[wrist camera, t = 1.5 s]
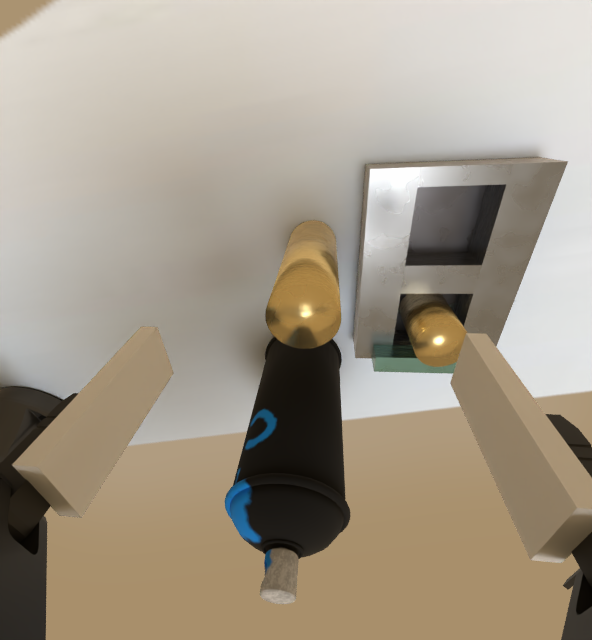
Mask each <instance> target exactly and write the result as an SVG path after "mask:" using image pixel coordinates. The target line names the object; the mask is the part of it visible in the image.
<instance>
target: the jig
mask: <svg viewBox="0 0 592 640" xmlns="http://www.w3.org/2000/svg"><path fill="white" fill-rule="evenodd" d="M566 165H567V161H561V160H554V159H548V158H541V157H533V158H508V159H483V160H458V161H432V162H407V163H382V164H365V178H364V192H363V207H362V221H361V235H360V250H359V264H358V278H357V293H356V307H355V321H354V336H353V341H354V350H355V358H372V362H373V368H374V371H379V372H417V373H454V370H455V367H456V364H457V361H458V357H459V354H460V351H461V348H462V345H463V341H464V338H465V335H466V333H481V334H487V335H488V337H489V338H490V339H491V341H492V342H493V343H494V345H495V346H497V343H498V340H499V338H500V335H501V333H502V330H503V328H504V325H505V322H506V320H507V317H508V315H509V312H510V310H511V307H512V304H513V302H514V299H515V297H516V294H517V291H518V289H519V286H520V284H521V281H522V279H523V276H524V273H525V271H526V268H527V266H528V263H529V260H530V258H531V255H532V253H533V250H534V248H535V245H536V242H537V240H538V237H539V235H540V232H541V230H542V227H543V224H544V222H545V219H546V217H547V214H548V211H549V209H550V206H551V204H552V201H553V199H554V196H555V193H556V191H557V188H558V186H559V183H560V180H561V178H562V175H563V173H564V170H565V168H566Z"/></svg>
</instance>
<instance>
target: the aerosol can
mask: <svg viewBox="0 0 592 640" xmlns="http://www.w3.org/2000/svg"><path fill="white" fill-rule="evenodd" d="M265 359H266V362H265V366H264V370H263V374H262V377H261V381H260V385H259V389H258V393H257V396H256V400H255V404H254V408H253V412H252V415H251V419H250V423H249V427H248V431H247V435H246V438H245V442H244V446H243V450H242V454H241V457H240V461H239V465H238V469H237V473H236V476H235V480H234V484H233V487H231V489H230V490H229V491H228V493H227V495H226V498H225V508H226V511H227V513H228V515H229V516H230V518H231V519H232V521H233V523H234V525H235V527H236V528H237V530H238V532H239V534H240V535H241V536H242V538H243V539H244V540H245V541H247V542H248V543H249V544H251V545H252V546H253V547H255V548H256V549H258V550H260V551H262V552H263V553H264V554H266V555H265V578H264V580H263V582H262V584H261V589H260V595H261V597H262V598H263V599H264V600H266V601H268V602H272V603H276V604H289V603H292V602H294V601H295V599H296V587H297V573H298V559H300V558H301V557H306V556H310V555H312V554H315V553H317V552H319V551H322V550H324V549H325V548H326V547H328V546H329V544H331V542H332V541H333V540H334V539H335V538H336V537H337V536H338V534H339V533H340V532H342V531H343V530H344V529H345V528H346V526H347V525H348V523H349V520H350V509H349V507H348V504H347V502H346V501H345V483H344V462H343V440H342V417H341V396H340V374H339V369H340V366H341V353H340V350H339V348H338V346H337V345H336V343H335V342H334V341H333V340H332V339H331V340H330V341H328V342H327V343H325V344H323V345H321V346H319V347H315V348H309V349H301V348H295V347H291V346H288V345H286V344H284V343H282V342H281V341H279V340H278V339H277V338H276V337H274V338H273V339H272V340H271V341H270V343H269V344H268V346H267V349H266V353H265Z"/></svg>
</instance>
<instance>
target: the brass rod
mask: <svg viewBox="0 0 592 640" xmlns="http://www.w3.org/2000/svg"><path fill="white" fill-rule="evenodd" d="M266 323H267V325H268V328H269V330H270V331H271V333H272V334H273V335H274V336H275V337H276V338H277V339H278V340H279V341H281V342H282V343H284V344H286V345H288V346H291V347H295V348H301V349H309V348H315V347H319V346H321V345H323V344H325V343H327V342H328V341H330V340H331V339H332V338H333V337H334V336H335V335H336V333H337V332H338V330H339V327H340V324H341V308H340V293H339V278H338V263H337V249H336V238H335V235H334V233H333V231H332V230H331V228H330V227H329V226H328V225H326V224H325V223H323V222H320V221H316V220H310V221H306V222H303V223H301V224H299V225H298V226H297V227H296V228H295V229H294V230H293V232H292V234H291V236H290V239H289V242H288V245H287V248H286V251H285V254H284V257H283V260H282V263H281V266H280V269H279V272H278V275H277V278H276V281H275V284H274V287H273V290H272V293H271V296H270V299H269V302H268V305H267V308H266Z"/></svg>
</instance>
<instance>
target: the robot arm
mask: <svg viewBox="0 0 592 640" xmlns="http://www.w3.org/2000/svg"><path fill="white" fill-rule="evenodd" d="M172 375H173V370H172V367H171V364H170V362H169V359H168V356H167V353H166V350H165V347H164V345H163V342H162V339H161V336H160V333H159V330H158V327H141V328H140V329H139V330H138V331H137V332H136V333H135V334H134V335H133V336H132V337H131V338H130V339H129V340H128V341H127V343H126V344H125V345H124V346H123V347H122V348H121V349H120V350H119V351H118V352H117V353H116V354H115V355H114V356H113V357H112V359H111V360H110V361H109V362H108V363H107V364H106V365H105V366H104V367H103V368H102V369H101V370H100V371H99V372H98V373H97V375H96V376H95V377H94V378H93V379H92V380H91V381H90V382H89V383H88V384H87V385H86V386H85V387H84V388H83V389H82V391H81V392H80V393H79V394H78V393H74V394H72V395H71V396H69V397H68V398H66V399H65V400H63V401H61V400H59V399H57V398H55V397H53V396H51V395H48V394H46V393H43V392H40V391H36V390H33V389H28V388H21V387H6V388H1V389H0V640H46V639H45V638H46V637H45V636H46V568H47V565H46V563H47V521H46V518H45V517H44V514H45V513H46V511H47V510H48V509H49V507H50V506H51V507H52V508H53V509H54V510H55V511H56V512H57V514H58V515H60V516H69V517H80V518H82V516H83V515H84V513H85V512H86V510H87V508H88V507H89V505H90V504H91V502H92V500H93V499H94V497H95V496H96V494H97V493H98V491H99V489H100V488H101V486H102V485H103V483H104V482H105V480H106V478H107V477H108V475H109V474H110V472H111V470H112V469H113V467H114V466H115V464H116V463H117V461H118V460H119V458H120V456H121V455H122V453H123V452H124V450H125V449H126V447H127V445H128V444H129V442H130V441H131V439H132V438H133V436H134V434H135V433H136V431H137V430H138V428H139V426H140V425H141V423H142V422H143V420H144V419H145V417H146V415H147V414H148V412H149V411H150V409H151V408H152V406H153V404H154V403H155V401H156V400H157V398H158V397H159V395H160V393H161V392H162V390H163V389H164V387H165V386H166V384H167V382H168V381H169V379H170V378H171V376H172ZM451 386H452V388H453V390H454V392H455V394H456V397H457V399H458V401H459V403H460V406H461V408H462V410H463V412H464V414H465V417H466V418H467V421H468V423H469V425H470V428H471V430H472V432H473V434H474V436H475V438H476V441H477V443H478V445H479V447H480V449H481V452H482V454H483V456H484V458H485V460H486V463H487V465H488V467H489V469H490V472H491V474H492V476H493V478H494V480H495V483H496V485H497V487H498V489H499V491H500V493H501V496H502V498H503V500H504V502H505V505H506V507H507V509H508V511H509V514H510V515H511V518H512V520H513V522H514V525H515V527H516V529H517V531H518V533H519V535H520V538H521V540H522V542H523V544H524V547H525V549H526V551H527V553H528V555H529V558H530V560H537V561H547V562H557V563H562V562H563V561H564V560H565V559H566V558H567V557H568V556H569V555H570V554H571V553H572V554H573V556H574V557H575V559H576V561H577V563H578V564H579V566H580V569H579V570H578V571H576V572H575V573H574V574H573V575H572V576H571V577H569V578H568V579H567V580H566V582H565V583H564V585H563V586H564V587H565V588H567V589H570V588H571V587H572V586H573V590H572V595H571V599H570V603H569V608H568V612H567V617H566V621H565V626H564V630H563V634H562V639H561V640H592V447H591V444H590V443H589V442H588V440H587V439H586V438H585V437H584V435H583V434H582V433H581V432H580V430H579V429H578V428H576V427H575V426H574V425H573V424H571V423H570V422H569V421H567V420H566V419H565V418H564V417H562V416H561V415H551V414H550V415H549V414H545V413H544V412H543V411H542V409H541V408H540V406H539V405H538V404H537V402H536V401H535V399H534V398H533V397H532V395H531V394H530V393H529V391H528V390H527V389H526V387H525V386H524V384H523V383H522V382H521V380H520V379H519V378H518V376H517V375H516V373H515V372H514V371H513V369H512V368H511V367H510V365H509V364H508V363H507V361H506V360H505V358H504V357H503V356H502V354H501V353H500V352H499V350H498V349H497V347H496V346H495V345H494V343H493V342H492V341H491V339H490V338H489V337H488V335H487V334H481V333H466V335H465V338H464V341H463V345H462V348H461V351H460V354H459V357H458V361H457V364H456V367H455V370H454V373H453V376H452V380H451Z"/></svg>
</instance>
